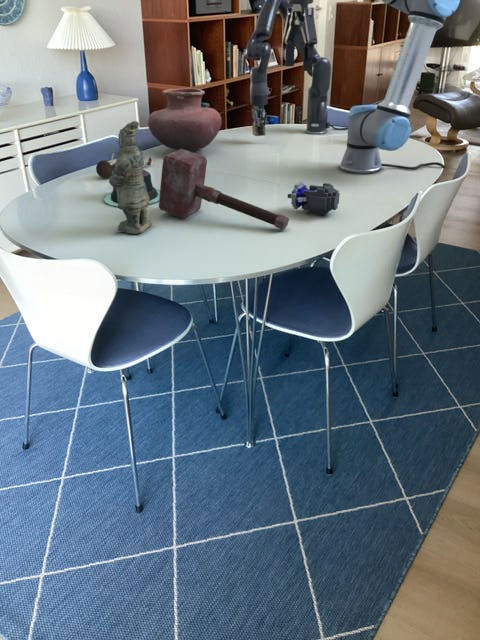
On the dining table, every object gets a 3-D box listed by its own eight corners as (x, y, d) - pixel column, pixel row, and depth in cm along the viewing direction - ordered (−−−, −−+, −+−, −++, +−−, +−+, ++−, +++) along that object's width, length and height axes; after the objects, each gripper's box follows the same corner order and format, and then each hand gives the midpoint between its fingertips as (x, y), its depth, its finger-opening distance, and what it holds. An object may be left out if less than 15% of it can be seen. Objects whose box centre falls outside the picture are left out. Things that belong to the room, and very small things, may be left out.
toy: (295, 178, 172) (342, 184, 166) (295, 205, 177) (340, 211, 171) (285, 186, 166) (333, 192, 160) (284, 213, 170) (331, 220, 164)
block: (262, 133, 252) (262, 122, 250) (265, 135, 249) (265, 124, 246) (252, 134, 251) (252, 123, 249) (255, 136, 247) (255, 125, 245)
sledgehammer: (299, 190, 156) (179, 147, 167) (285, 200, 148) (161, 154, 160) (286, 244, 166) (174, 200, 177) (272, 256, 158) (156, 209, 170)
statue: (131, 220, 168) (117, 116, 152) (158, 224, 164) (147, 118, 149) (109, 233, 159) (93, 124, 144) (138, 237, 156) (124, 126, 140)
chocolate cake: (91, 202, 180) (113, 186, 197) (142, 231, 182) (160, 212, 199) (107, 162, 172) (129, 148, 190) (160, 192, 174) (177, 176, 192)
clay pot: (228, 143, 251) (226, 84, 239) (213, 161, 226) (210, 95, 213) (163, 142, 256) (158, 84, 243) (142, 159, 231) (135, 95, 218)
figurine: (158, 154, 218) (111, 160, 199) (158, 173, 221) (112, 181, 202) (133, 150, 225) (86, 155, 206) (134, 169, 228) (87, 176, 209)
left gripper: (245, 91, 246) (246, 131, 255) (255, 96, 234) (256, 137, 243) (261, 90, 248) (261, 130, 256) (272, 95, 236) (272, 136, 245)
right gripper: (272, -11, 170) (272, 65, 180) (306, -13, 149) (303, 73, 160) (295, -12, 172) (293, 63, 182) (332, -13, 151) (327, 71, 162)
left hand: (259, 133), depth 249 cm, fingers closed on block, 4 cm apart
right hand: (298, 68), depth 171 cm, fingers open, 13 cm apart
